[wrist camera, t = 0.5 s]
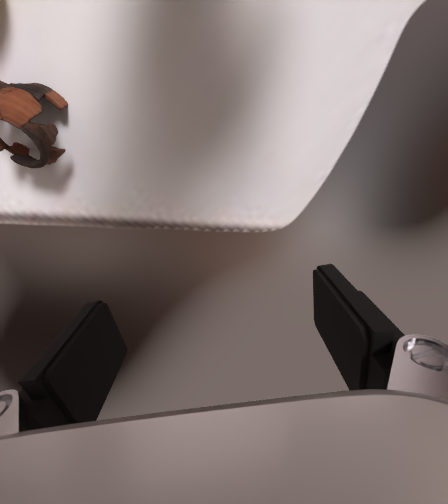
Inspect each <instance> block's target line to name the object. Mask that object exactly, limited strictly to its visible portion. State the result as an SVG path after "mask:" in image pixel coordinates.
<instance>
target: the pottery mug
mask: <svg viewBox="0 0 448 504" xmlns="http://www.w3.org/2000/svg"><path fill="white" fill-rule="evenodd" d="M43 97H45V98H46V99H48V100H49V101H50V102H51V103H53V104H54V105H55V106H56V107H57V108H58V109H59V110H62V109H63V108H64V107H65V106H67V105H68V103H67V102H66V101H65V99H64V98H63V97H61V96H60V95H59V94H58V93H57V92H55V91H54V90H52V89H51V88H49V87H47V86H45V85H42V84H38V83H30V84H21V83H18V84H12V83H11V84H7V83H4V82H2V81H0V120H3V121H6V122H8V123H10V124H12V125H14V126H16V127H17V128H19V129H21V130H22V131H23V132H24V133H25V134H27V135H28V136H29V137H30V138H31V139H32V140H33V142H34V143H35V144H36V146H37V147H38V149H39V151H40V155H41V156H40V160H37V159H35V158H33V157H31V156H30V155H29V148H28V147H26V146H24V145H22V144H20V143H17V142H15V143H13V145H12V146H9V145H7V144H6V143H5V142H4V141H3V140H2V139H1V138H0V151H2V150H4V149H6V150H8V151H9V152H10V153H12V154H14V155H13V156H11V157H10V158H11V159H12V160H13V161H14V162H15V163H17V164H20V165H22V166H26V167H29V168H38V167H39V168H40V167H43V166H45V165H46V164H51V163H55V162H56V161H57V159H58V158H59V157H60V156H61V155H62V154H63V153H64V152H65V149H58V148H55V147H51V145H53V144H54V142H55V140H56V135H57V134H58V130H57V128H56V126H55V124H53V123H52V124H49V125H43V124H36V123H32V122H30V121H31V120H32V119H33V118H34V117H35V116H36V115H38V114H40V113H41V110H42V106H41V105H40V103H39V101H40V99H41V98H43Z"/></svg>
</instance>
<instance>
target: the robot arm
mask: <svg viewBox="0 0 448 504" xmlns="http://www.w3.org/2000/svg"><path fill="white" fill-rule="evenodd" d="M313 295H314V321H315V325H316V328H317V330H318V331H319V333H320V335H321V337H322V339H323V341H324V343H325V345H326V347H327V348H328V350H329V352H330V354H331V356H332V358H333V360H334V362H335V364H336V365H337V367H338V369H339V371H340V373H341V375H342V376H343V379H344V380H345V382H346V384H347V386H348V388H349V391H337V392H327V393H317V394H308V395H298V396H289V397H281V398H273V399H265V400H256V401H248V402H240V403H231V404H223V405H215V406H207V407H200V408H191V409H183V410H176V411H167V412H160V413H152V414H144V415H136V416H129V417H121V418H114V419H106V420H99V421H96V420H97V417H98V415H99V413H100V411H101V409H102V406H103V404H104V402H105V400H106V398H107V395H108V393H109V391H110V389H111V387H112V385H113V382H114V380H115V378H116V376H117V373H118V371H119V369H120V367H121V365H122V363H123V360H124V358H125V356H126V353H127V347H126V345H125V342H124V340H123V338H122V336H121V333H120V331H119V329H118V327H117V325H116V323H115V320H114V318H113V316H112V314H111V312H110V310H109V307H108V305H107V304H106V303H103V302H102V301H100V300H99V301H93V302H88V303H86V304H85V305H84V306H83V307H82V308H81V310H80V311H79V312H78V313H77V314H76V315H75V316H74V318H73V319H72V320H71V321H70V322H69V323H68V325H67V326H66V327H65V328H64V329H63V330H62V332H61V333H60V334H59V335H58V336H57V337H56V338H55V340H54V341H53V342H52V343H51V344H50V346H49V347H48V348H47V349H46V350H45V351H44V352H43V354H42V355H41V356H40V357H39V358H38V359H37V361H36V362H35V363H34V364H33V365H32V366H31V368H30V369H29V370H28V371H27V372H26V373H25V374H24V376H23V377H22V378H21V379H20V380H19V382H18V383H19V384H20V385H21V387H22V390H21V391H20V392H19V393H18V392H17V391H15V390H7V391H4V392H0V504H448V345H447V344H445V343H444V342H442V341H440V340H437V339H435V338H432V337H428V336H424V335H407V336H405V335H404V334H403V333H402V332H401V331H400V330H399V329H398V328H397V327H396V326H395V325H394V324H393V323H392V322H391V321H390V320H389V319H388V318H387V316H386V315H385V314H383V312H382V311H380V309H379V308H378V307H377V306H376V305H375V304H374V303H373V302H372V301H371V300H370V299H369V298H368V297H367V296H366V295H365V294H364V293H363V292H361V291H357V289H355V287H354V286H353V285H351V283H350V282H349V281H348V280H347V279H346V278H345V277H344V276H343V275H342V274H341V273H340V272H339V271H338V270H337V269H336V267H335V266H334V265H332V264H327V265H321V266H318V267H317V270H314V271H313Z"/></svg>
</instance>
